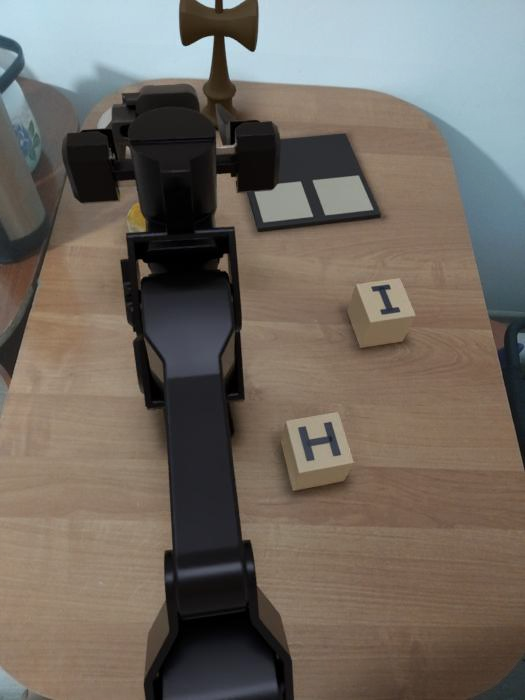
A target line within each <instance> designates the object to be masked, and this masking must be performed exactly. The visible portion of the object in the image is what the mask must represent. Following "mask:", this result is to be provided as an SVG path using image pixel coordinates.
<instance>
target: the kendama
mask: <svg viewBox="0 0 525 700" xmlns="http://www.w3.org/2000/svg"><path fill="white" fill-rule="evenodd" d="M259 7H260V6H259V0H243V1H242V2H240V3H239V4H237V5H235V6H234V7H231V8H227V7H226V8H224V0H214V7H210V6H207V5H205V4H203V3H201V2H200V1H199V0H179V4H178V29H179V37H180V42H181V45H182V46H183V47H189V46H191V45H193V44H194V43H196V42H198V41H200V40H202V39H204V38H208V37H213V43H212V53H211V54H212V55H211V64H210V71H209V76H208V80H207V81H206V82H205V83H203V85H202V93H203V95H204V96H205V98H206V105H205V106H204V107H203V108H202V111H201V113H202V114H203V115H205V116H206V117H208V118H209V119H210V120H211V122H212V123H213V124H214V127H215V129H216V128H217V129H218V126H217V118H216V104H221V105H222V106H223V107H224V108H225V109H226V110H227V111H228V112H229V113H230V114H231V115H232V116H233V117H234V118H235V119H236V120H237V121H238V118H239V114H238V111H237V108H235V107H234V105H233V98H234V97H235V95H236V93H237V87H236V84H235V83H233V82H232V81H231V79H230V74H229V67H228V66H229V65H228V60H227V51H226V40H225V39H226V38H231V39H233V40H234V41H235V42H237V43H238V44H240V45H241V46H243V47H244V48H245V49H246V50H248V51H249V52H251V53H255V52H256V49H257V45H258V39H259V38H258V37H259V24H260V23H259V22H260V20H259V18H260V10H259Z"/></svg>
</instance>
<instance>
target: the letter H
mask: <svg viewBox="0 0 525 700" xmlns="http://www.w3.org/2000/svg"><path fill="white" fill-rule="evenodd" d="M280 444H281V448H282V452H283V453H282V454H283V457H284V461H285V464H286V469H287V474H288V478H289V481H290V486H291V489H292V491H293V492H295V491H301V490H306V489H311V488H314V487H315V488H316V487H321V486H326V485H332V484H335V483H341V482H344V481H345V479H346V478H347V476H348V474H349V472H350V470H351V469H352V467H353V465H354V463H355V462H354V458H353V455H352V451H351V449H350V445H349V442H348V439H347V435H346V433H345V429H344V425H343V423H342V420H341V416H340V413H339V411H335V412H330V413H323V414H318V415H311V416H307V417H301V418H294V419H289V420H285V423H284V427H283V431H282V436H281V440H280Z"/></svg>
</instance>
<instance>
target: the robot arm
mask: <svg viewBox="0 0 525 700" xmlns="http://www.w3.org/2000/svg"><path fill="white" fill-rule="evenodd" d="M121 100H122V102H121V103H113V104H112V106H111V107H112V109H111V112H112V120H111V122H110V123H109V124H108V125H107V126H106V127H105V128H102V129H97V128H86V129H82V130H80V131H78V132H67V133H66V134H65V136H64V137H63V138H62V139H61V149H60V150H61V151H60V152H61V158H62V163H63V166H64V169H65V172H66V175H67V178H68V179H67V180H68V182H69V185H70V188H71V191H72V194H73V198H74V199H76V201H78V202H79V203H80V204H82V205H90V204H103V203H105V204H106V203H118V202H121V191H120V189H119V188H128V187H136V193H137V199H138V202H139V205H140V211H141V213H142V215H143V217H144V218H145V223H146V232H132V233H129V232H125V240H126V249H127V258H121V259H120V260H119V262H120V263H119V264H120V272H121V279H122V281H121V282H122V289H123V290H122V291H123V299H124V307H125V315H126V321H127V324H128V325H129V326H131V328H132V332H133V333H135V335H136V337H135V338H134V339H133V340H132V347H133V355H134V363H135V370H136V377H137V378H136V379H137V384H138V388H139V392H140V393H141V394H142V395H143V397H144V406H145V408H146V410H147V411H148V412H153V411H156V410H162V409H163V416H164V424H165V432H166V433H165V434H166V435H165V436H166V451H167V470H168V471H167V473H168V487H169V507H170V525H171V526H170V527H171V544H172V545H171V546H172V549H166V550H164V553H163V554H164V555H163V577H164V578H163V580H164V593H165V600H164V602H163V604H162V605H161V607H160V609H159V611H158V613H157V615H156V618H155V619H154V621H153V623H152V625H151V627H150V628H149V631H148V633H147V639H146V648H145V650H146V651H145V662H144V674H143V692H144V699H145V700H295V692H294V690H295V689H294V671H293V669H294V668H293V659H292V656H291V655H292V654H291V652H290V647H289V643H288V640H287V635H286V632H285V631H286V630H285V627H284V623H283V619H282V616H281V614H280V612H279V611H278V609H276V606H274V605H273V603H272V602H271V601H270V600H269V598H268V597H267V596H266V595H265V593H264V592H263V590H261V588H260V587H259V586H258V583H257V573H256V564H255V556H254V555H255V554H254V549H253V544H252V541H251V539H243V533H242V525H241V516H240V508H239V507H240V506H239V500H238V499H239V498H238V490H237V481H236V472H235V464H234V463H235V462H234V455H233V448H232V439H231V438H233V437H235V435H236V429H235V425H234V420H233V414H232V410H231V406H230V403H234V402H237V403H244V402H245V400H246V394H245V393H246V392H245V382H244V381H245V379H244V366H243V365H244V364H243V353H242V352H243V351H242V334H241V331H242V328H243V311H242V310H243V309H242V299H241V286H240V274H239V262H238V250H237V238H236V228H235V225H233V226H219V227H217V223H216V218H215V215H216V212H217V209H218V175H226V174H230V177H231V178H236V180H235V191H236V193H237V194H244V193H245V194H246V193H247V192H260V191H272V190H273V189H274V188H275V187H276V186H277V184H278V183H279V169H280V153H281V142H280V139H281V135H280V131H279V127H278V125H277V124H276V123H274V122H273V121H272V120H270V121H269V120H265V121H260V120H258V119H243V120H242V119H240V120H238V119H237V120H236V119H235V118H234V117H233V116H232V115H231V114H230V113H229V112H228V111H227V110H226V109H225V108H224V107H223V106H222V105H221V104H216V118H217V126H218V128H217V129H218V133H219V137H220V141H221V143H222V145H217V129H216V127H214V124H213V123H212V122H211V120H210V119H209V118H208V117H206V116H205V115H203V114H202V112H201V106H200V100H199V95H198V92H197V90H196V89H195V87H194V86H193V85H191V84H189V83H177V84H175V83H174V84H158V85H154V84H148V85H144V86H142V87H141V88H139V90H138V91H137V92H122V93H121ZM126 146H128V147H129V148H130V152H131V157H132V159H125V156H126ZM224 255H227V268H228V269H227V270H228V271H226V270H221V268H219V264H220V261H221V259H223V258H224ZM139 261H142V263H144V264H146V265H147V267H148V269H149V270H150V273H148V275H146V276H143V277H142V278H141V271H140V262H139Z"/></svg>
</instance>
